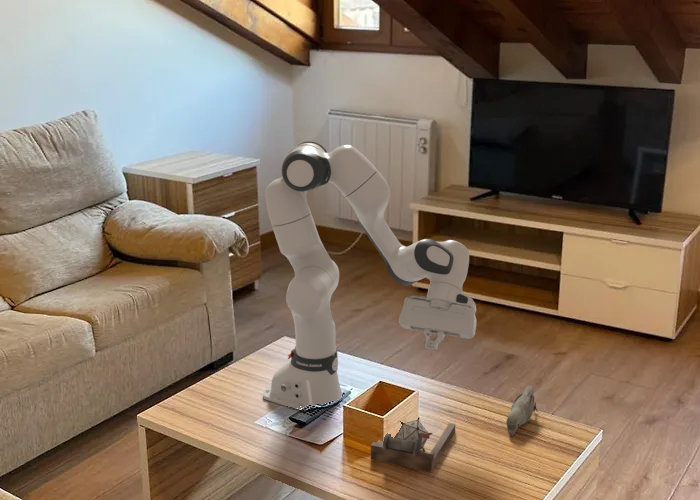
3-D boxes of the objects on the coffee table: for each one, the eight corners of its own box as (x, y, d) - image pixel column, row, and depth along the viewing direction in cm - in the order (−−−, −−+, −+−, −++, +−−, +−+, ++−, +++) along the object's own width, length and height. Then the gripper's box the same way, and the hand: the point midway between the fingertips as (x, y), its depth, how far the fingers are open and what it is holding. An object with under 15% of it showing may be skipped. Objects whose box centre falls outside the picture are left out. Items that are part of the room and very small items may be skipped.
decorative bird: (500, 434, 216) (501, 408, 214) (520, 408, 230) (521, 383, 227) (520, 439, 214) (521, 413, 212) (540, 412, 227) (541, 387, 225)
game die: (418, 466, 209) (430, 449, 202) (386, 453, 209) (397, 436, 202) (426, 435, 215) (438, 417, 207) (395, 423, 215) (406, 405, 207)
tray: (369, 462, 205) (368, 427, 202) (398, 422, 223) (398, 389, 220) (429, 475, 199) (430, 439, 196) (455, 432, 217) (456, 399, 214)
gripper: (403, 289, 223) (390, 337, 218) (478, 299, 215) (466, 349, 210) (408, 298, 229) (396, 345, 223) (482, 309, 221) (470, 358, 215)
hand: (430, 348), depth 217 cm, fingers closed
